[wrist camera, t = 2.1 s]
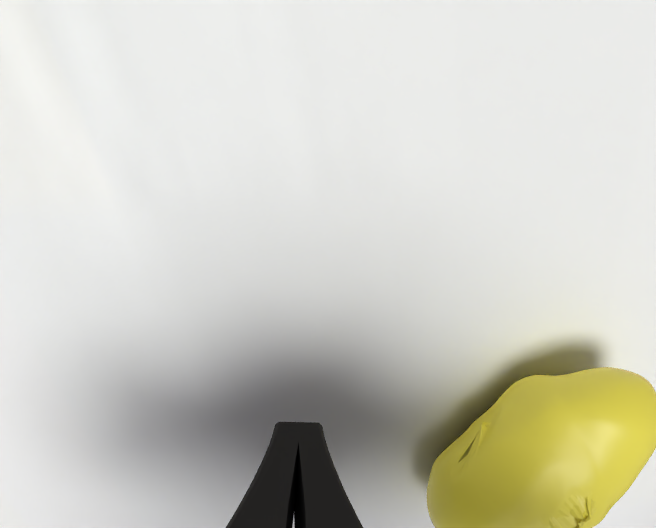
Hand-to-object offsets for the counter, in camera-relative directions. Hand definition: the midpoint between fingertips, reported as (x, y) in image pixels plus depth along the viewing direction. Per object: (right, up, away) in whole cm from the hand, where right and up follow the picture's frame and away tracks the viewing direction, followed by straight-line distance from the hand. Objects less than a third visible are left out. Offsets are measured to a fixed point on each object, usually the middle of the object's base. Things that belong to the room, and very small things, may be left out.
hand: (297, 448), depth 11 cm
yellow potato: (+7, 0, +2) cm, 8 cm away
